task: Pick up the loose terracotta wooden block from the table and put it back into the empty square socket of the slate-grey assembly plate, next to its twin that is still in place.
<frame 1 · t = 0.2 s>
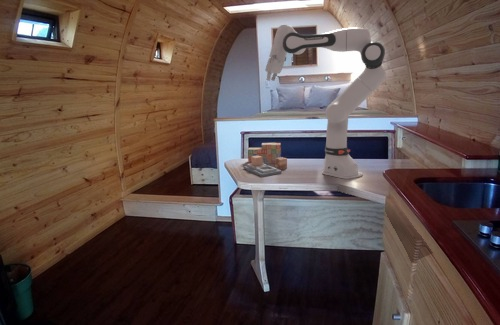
hand: (270, 80, 179), 51 cm above the table, tool tilted 20°, fingers open, 8 cm apart
assembly plate: (261, 170, 185), on the table
terracotta block: (281, 167, 190), on the table
stack of blocks: (264, 162, 206), on the table
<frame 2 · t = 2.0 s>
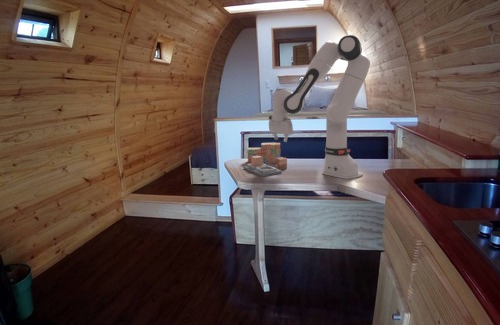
hand: (280, 140, 186), 17 cm above the table, tool pointing down, fingers open, 8 cm apart
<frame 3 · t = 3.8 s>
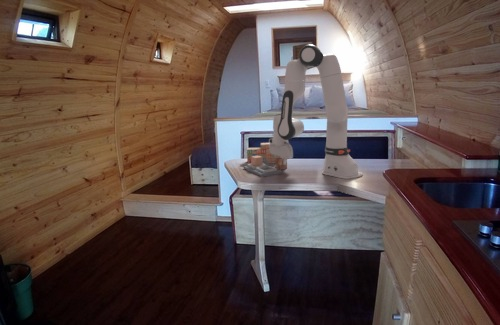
hand: (281, 163, 189), 3 cm above the table, tool pointing down, fingers closed on terracotta block, 5 cm apart
terracotta block: (281, 167, 190), on the table, touching gripper
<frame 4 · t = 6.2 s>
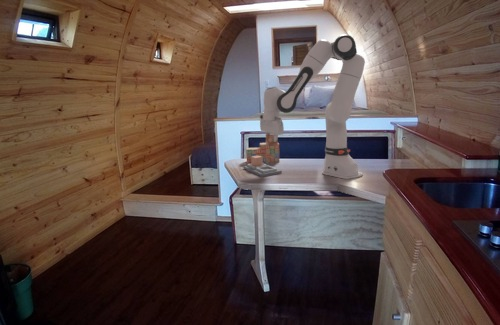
hand: (271, 140, 181), 18 cm above the table, tool pointing down, fingers closed on terracotta block, 5 cm apart
terracotta block: (271, 145, 181), point 15 cm above the table, touching gripper
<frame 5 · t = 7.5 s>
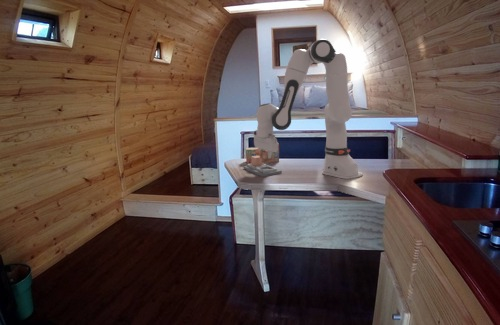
hand: (265, 157, 178), 9 cm above the table, tool pointing down, fingers closed on terracotta block, 5 cm apart
terracotta block: (265, 161, 179), point 7 cm above the table, touching gripper
when the fingers open (6 cm above the table, at t = 8.6 s): terracotta block drops 1 cm, resting on assembly plate.
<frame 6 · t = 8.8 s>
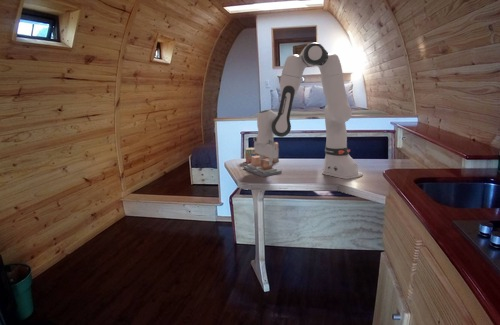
hand: (266, 163, 179), 6 cm above the table, tool pointing down, fingers open, 7 cm apart
terracotta block: (266, 170, 180), point 1 cm above the table, touching assembly plate
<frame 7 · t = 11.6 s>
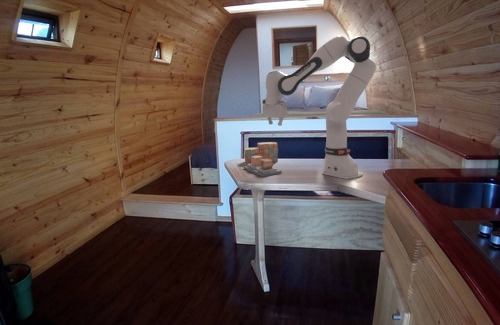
hand: (275, 124, 182), 26 cm above the table, tool pointing down, fingers open, 8 cm apart
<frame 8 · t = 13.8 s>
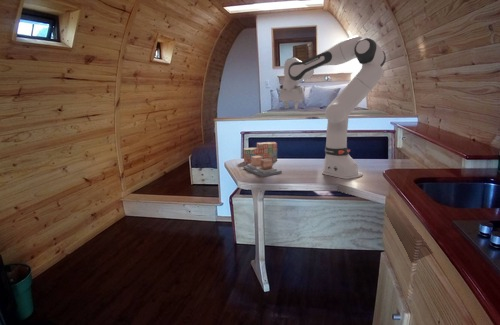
hand: (291, 108, 197), 34 cm above the table, tool pointing down, fingers open, 8 cm apart
at the end: terracotta block 0.0 cm from the target spot on the assembly plate, point 1.5 cm above the assembly plate's base; terracotta block tilted 0°; the gripper is holding nothing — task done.
